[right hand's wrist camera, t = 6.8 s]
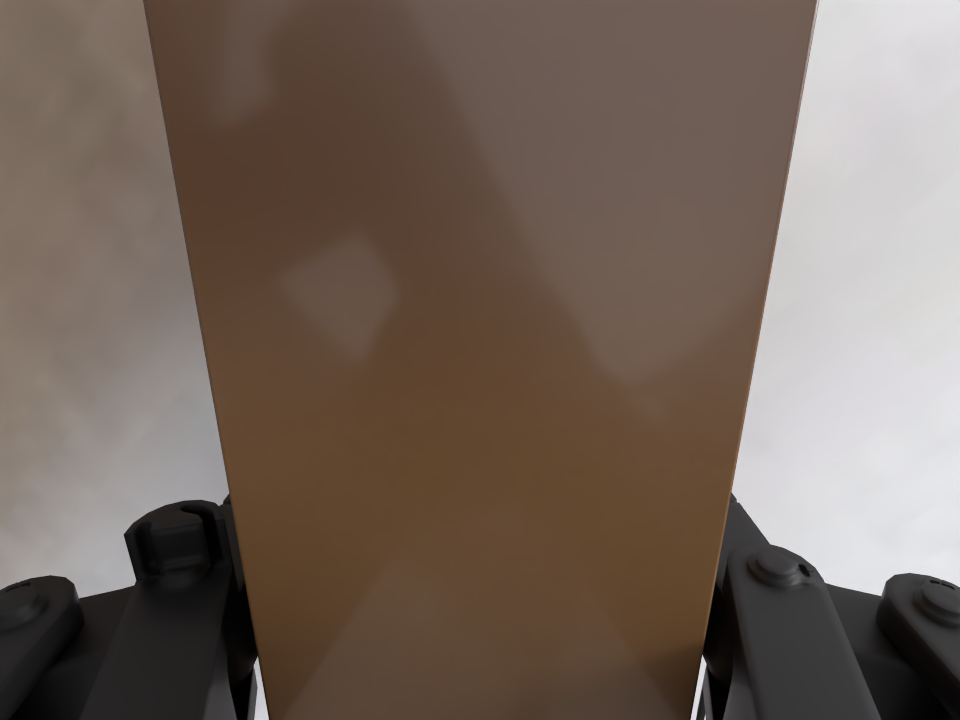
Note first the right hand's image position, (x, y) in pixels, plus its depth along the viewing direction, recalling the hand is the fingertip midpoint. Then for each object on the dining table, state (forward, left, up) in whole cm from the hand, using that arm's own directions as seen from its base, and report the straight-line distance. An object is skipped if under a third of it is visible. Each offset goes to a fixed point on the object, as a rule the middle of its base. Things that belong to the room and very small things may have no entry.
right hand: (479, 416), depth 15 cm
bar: (-13, +23, -1) cm, 27 cm away
